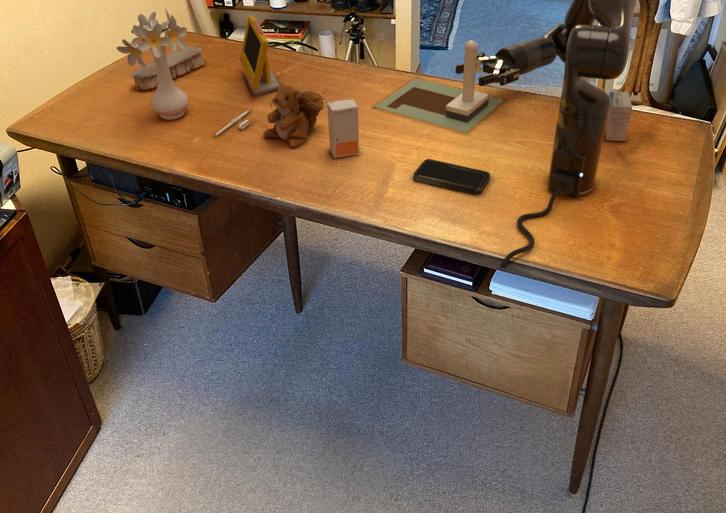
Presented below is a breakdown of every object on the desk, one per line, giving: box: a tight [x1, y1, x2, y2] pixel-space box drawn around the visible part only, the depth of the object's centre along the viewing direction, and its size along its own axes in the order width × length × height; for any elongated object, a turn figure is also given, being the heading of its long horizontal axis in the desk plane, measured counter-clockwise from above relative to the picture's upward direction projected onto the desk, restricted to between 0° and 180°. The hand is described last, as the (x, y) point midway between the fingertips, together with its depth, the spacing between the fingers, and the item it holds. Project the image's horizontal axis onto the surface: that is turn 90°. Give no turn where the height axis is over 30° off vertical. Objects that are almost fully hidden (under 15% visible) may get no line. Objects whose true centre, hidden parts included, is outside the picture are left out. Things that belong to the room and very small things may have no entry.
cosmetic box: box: [326, 98, 360, 159], centre depth 157 cm, size 6×4×12 cm
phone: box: [413, 158, 491, 195], centre depth 150 cm, size 8×1×15 cm
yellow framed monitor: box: [239, 14, 280, 97], centre depth 186 cm, size 20×8×16 cm, turn 17°
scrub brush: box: [446, 40, 490, 123], centre depth 168 cm, size 11×6×18 cm, turn 145°
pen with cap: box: [214, 109, 251, 137], centre depth 172 cm, size 14×4×2 cm, turn 153°
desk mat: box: [373, 77, 504, 134], centre depth 178 cm, size 20×26×1 cm
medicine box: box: [604, 91, 633, 142], centre depth 160 cm, size 8×4×9 cm, turn 168°
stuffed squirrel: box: [262, 81, 326, 149], centre depth 164 cm, size 10×14×13 cm
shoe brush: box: [131, 45, 205, 91], centre depth 196 cm, size 24×8×5 cm, turn 146°
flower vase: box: [116, 8, 190, 121], centre depth 170 cm, size 13×18×25 cm
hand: (467, 75), depth 168 cm, fingers open, 8 cm apart
